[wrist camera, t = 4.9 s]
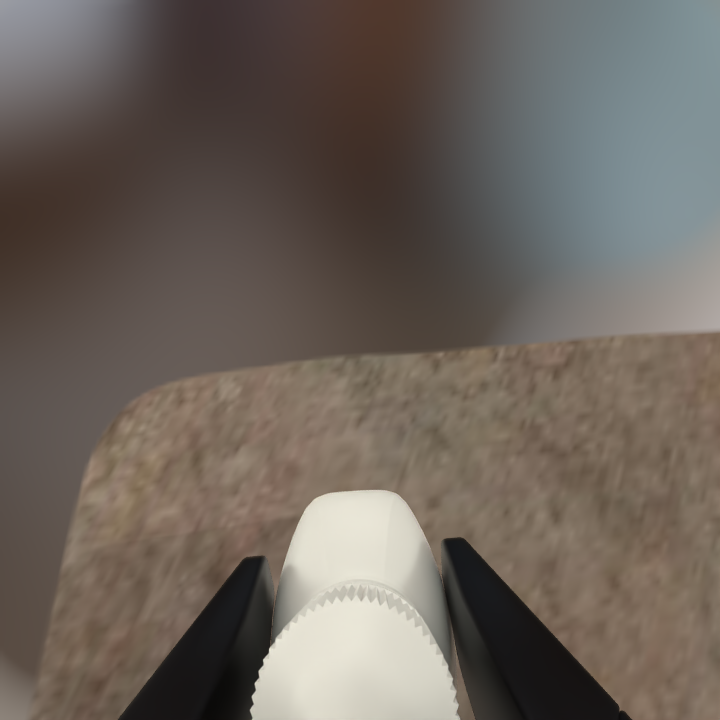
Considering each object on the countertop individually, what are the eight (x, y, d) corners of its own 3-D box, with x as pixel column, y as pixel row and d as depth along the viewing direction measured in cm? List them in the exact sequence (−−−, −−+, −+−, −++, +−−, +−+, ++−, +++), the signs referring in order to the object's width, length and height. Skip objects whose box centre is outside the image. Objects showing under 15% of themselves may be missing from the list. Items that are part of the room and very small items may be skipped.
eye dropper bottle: (456, 542, 15) (685, 573, 4) (393, 717, 13) (484, 1707, 2) (348, 488, 16) (284, 386, 5) (274, 644, 14) (-110, 1073, 3)
